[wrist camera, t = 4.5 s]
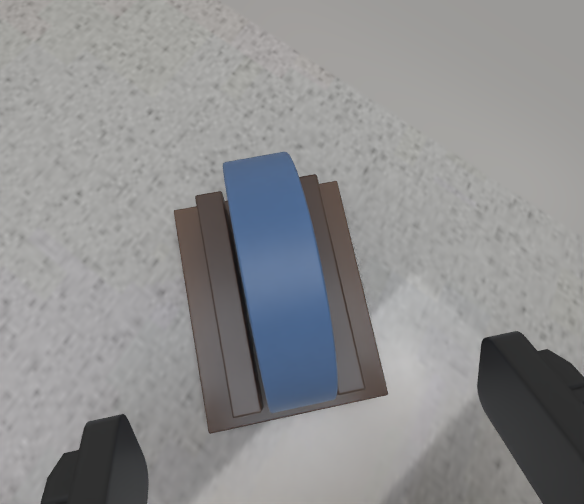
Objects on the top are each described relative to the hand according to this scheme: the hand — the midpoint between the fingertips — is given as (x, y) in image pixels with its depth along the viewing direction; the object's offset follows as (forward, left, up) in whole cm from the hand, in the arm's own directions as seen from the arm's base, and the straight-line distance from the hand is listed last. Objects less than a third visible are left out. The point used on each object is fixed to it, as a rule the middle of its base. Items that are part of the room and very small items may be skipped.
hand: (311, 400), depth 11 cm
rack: (-1, -4, -10) cm, 11 cm away
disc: (-1, -4, -4) cm, 6 cm away
